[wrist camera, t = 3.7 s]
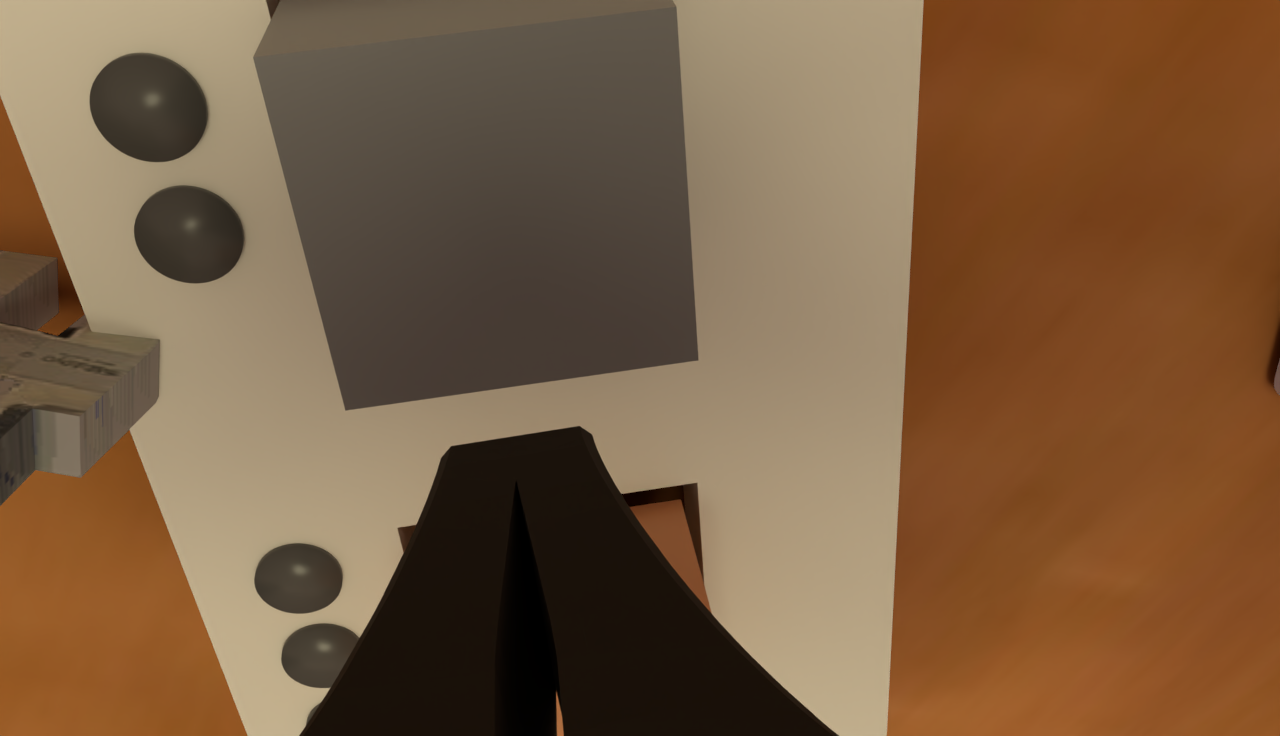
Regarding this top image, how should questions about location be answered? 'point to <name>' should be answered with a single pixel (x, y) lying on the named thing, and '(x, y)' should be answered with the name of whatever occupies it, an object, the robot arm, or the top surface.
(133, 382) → the caliper
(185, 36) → the button panel
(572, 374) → the button two
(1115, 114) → the top surface
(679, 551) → the button three
